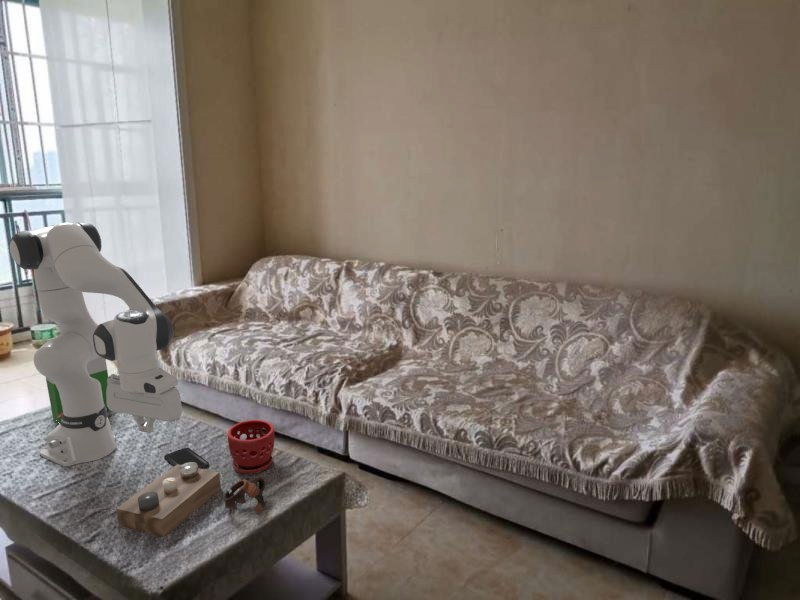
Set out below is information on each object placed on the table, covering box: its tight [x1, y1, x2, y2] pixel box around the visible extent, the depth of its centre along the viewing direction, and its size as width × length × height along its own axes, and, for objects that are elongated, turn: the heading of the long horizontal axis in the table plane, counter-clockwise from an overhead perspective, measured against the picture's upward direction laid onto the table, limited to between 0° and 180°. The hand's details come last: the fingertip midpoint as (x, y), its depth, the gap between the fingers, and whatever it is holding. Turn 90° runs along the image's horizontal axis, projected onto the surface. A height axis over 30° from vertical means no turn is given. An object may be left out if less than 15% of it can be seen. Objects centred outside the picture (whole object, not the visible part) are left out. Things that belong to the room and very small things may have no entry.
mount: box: [115, 464, 222, 538], centre depth 150 cm, size 14×22×5 cm, turn 161°
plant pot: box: [227, 419, 275, 475], centre depth 168 cm, size 13×13×12 cm
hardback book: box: [45, 356, 109, 424], centre depth 205 cm, size 18×7×24 cm, turn 137°
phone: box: [163, 447, 210, 469], centre depth 173 cm, size 8×1×15 cm
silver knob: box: [180, 462, 199, 479], centre depth 156 cm, size 5×5×7 cm
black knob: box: [138, 492, 159, 511], centre depth 143 cm, size 5×5×7 cm
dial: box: [163, 478, 177, 493], centre depth 149 cm, size 3×3×3 cm
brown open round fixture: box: [222, 475, 266, 515], centre depth 150 cm, size 12×10×8 cm
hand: (146, 431), depth 141 cm, fingers closed
